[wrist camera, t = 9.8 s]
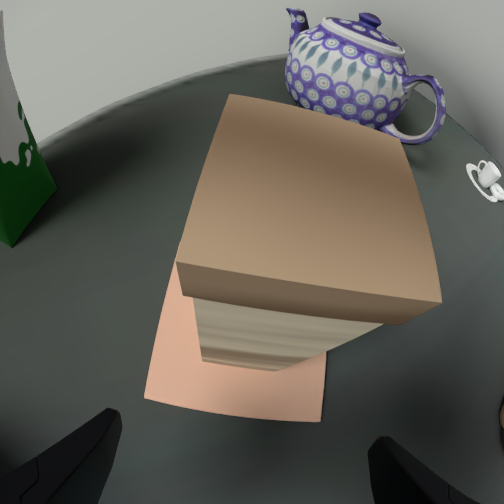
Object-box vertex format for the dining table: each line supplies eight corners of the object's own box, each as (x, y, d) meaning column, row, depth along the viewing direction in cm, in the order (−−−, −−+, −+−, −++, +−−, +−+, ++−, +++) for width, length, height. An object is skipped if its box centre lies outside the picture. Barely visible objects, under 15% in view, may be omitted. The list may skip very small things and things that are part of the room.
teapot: (429, 165, 32) (485, 83, 19) (365, 198, 26) (445, 72, 13) (312, 67, 40) (335, -7, 27) (233, 74, 34) (248, -21, 21)
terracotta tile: (316, 421, 16) (320, 421, 15) (145, 397, 15) (143, 397, 15) (326, 272, 21) (329, 268, 21) (180, 245, 21) (180, 241, 20)
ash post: (276, 374, 17) (442, 302, 4) (199, 363, 16) (175, 261, 4) (283, 303, 19) (399, 139, 7) (211, 291, 19) (229, 93, 6)
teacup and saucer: (502, 200, 34) (515, 186, 30) (493, 214, 31) (509, 198, 27) (472, 162, 37) (484, 147, 33) (459, 170, 34) (473, 153, 30)
